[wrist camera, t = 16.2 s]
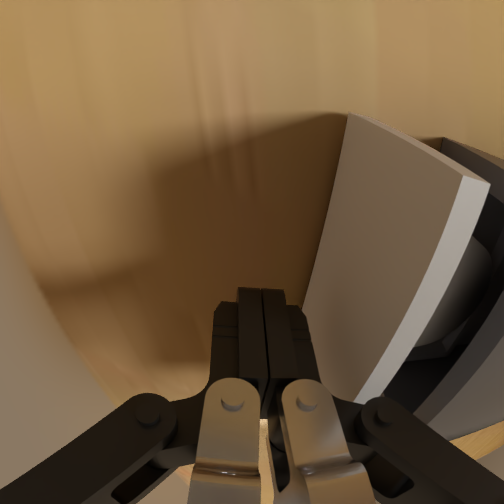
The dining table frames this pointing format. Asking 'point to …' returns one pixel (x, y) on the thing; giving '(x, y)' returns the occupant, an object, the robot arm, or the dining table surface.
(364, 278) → the disc tray
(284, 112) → the dining table surface
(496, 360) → the box
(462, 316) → the white domed disc
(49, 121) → the dining table surface
